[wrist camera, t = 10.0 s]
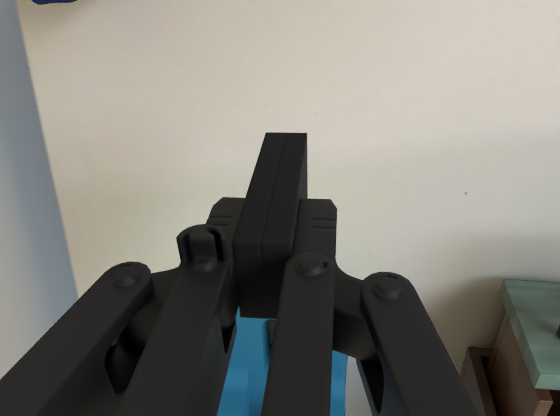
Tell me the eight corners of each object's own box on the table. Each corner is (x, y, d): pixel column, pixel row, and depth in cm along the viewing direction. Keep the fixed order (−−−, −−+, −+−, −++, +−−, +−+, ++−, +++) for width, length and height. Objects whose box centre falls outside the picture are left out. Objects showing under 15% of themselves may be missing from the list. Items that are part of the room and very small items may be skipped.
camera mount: (339, 420, 46) (337, 547, 37) (228, 410, 47) (201, 531, 38) (352, 273, 36) (353, 399, 27) (209, 264, 37) (168, 383, 28)
